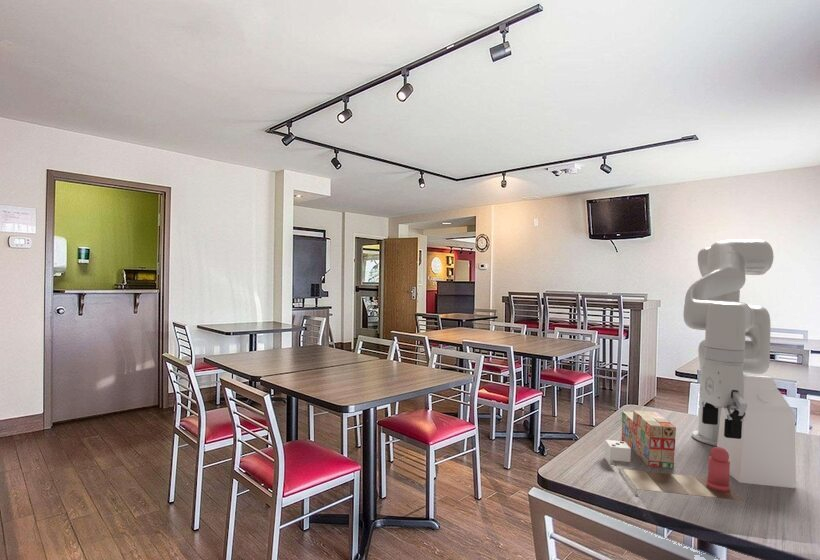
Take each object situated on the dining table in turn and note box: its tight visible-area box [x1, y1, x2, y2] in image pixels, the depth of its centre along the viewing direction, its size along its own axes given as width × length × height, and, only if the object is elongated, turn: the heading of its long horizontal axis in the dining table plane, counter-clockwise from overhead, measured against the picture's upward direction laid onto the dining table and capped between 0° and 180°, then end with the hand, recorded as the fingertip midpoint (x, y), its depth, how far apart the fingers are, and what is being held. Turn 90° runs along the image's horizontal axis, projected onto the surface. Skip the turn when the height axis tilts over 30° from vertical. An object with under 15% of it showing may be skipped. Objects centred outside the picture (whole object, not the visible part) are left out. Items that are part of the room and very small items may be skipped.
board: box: [618, 468, 744, 501], centre depth 103 cm, size 23×12×1 cm, turn 81°
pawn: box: [706, 446, 731, 492], centre depth 102 cm, size 4×4×9 cm
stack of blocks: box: [621, 410, 677, 469], centre depth 123 cm, size 21×6×12 cm, turn 172°
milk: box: [716, 374, 797, 489], centre depth 110 cm, size 12×12×26 cm
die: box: [604, 439, 632, 467], centre depth 118 cm, size 5×5×5 cm
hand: (720, 430), depth 102 cm, fingers open, 9 cm apart
